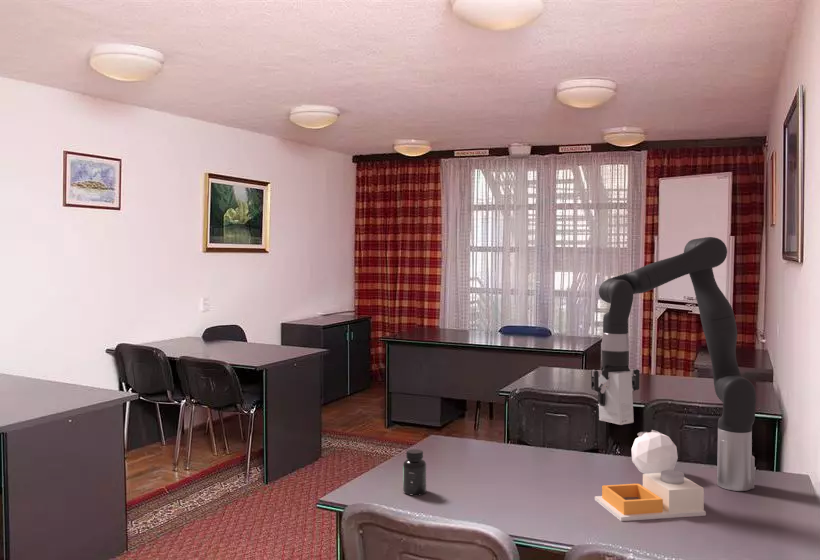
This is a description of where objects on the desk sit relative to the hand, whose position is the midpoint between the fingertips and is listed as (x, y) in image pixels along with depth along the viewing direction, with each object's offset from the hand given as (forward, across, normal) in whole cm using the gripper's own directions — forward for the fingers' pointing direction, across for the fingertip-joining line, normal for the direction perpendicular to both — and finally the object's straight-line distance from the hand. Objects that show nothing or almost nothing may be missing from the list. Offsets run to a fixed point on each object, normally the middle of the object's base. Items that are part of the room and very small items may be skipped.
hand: (615, 405), depth 199 cm
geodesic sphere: (+26, -20, -14) cm, 36 cm away
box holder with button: (+26, -4, +12) cm, 29 cm away
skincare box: (+5, 0, 0) cm, 5 cm away
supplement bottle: (+26, +57, -10) cm, 64 cm away
